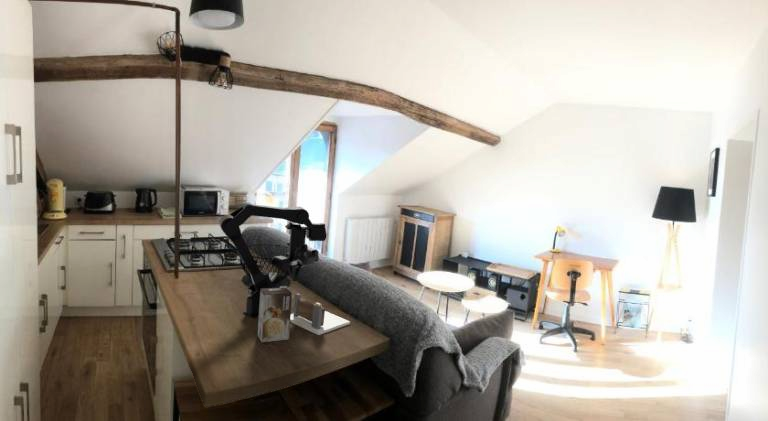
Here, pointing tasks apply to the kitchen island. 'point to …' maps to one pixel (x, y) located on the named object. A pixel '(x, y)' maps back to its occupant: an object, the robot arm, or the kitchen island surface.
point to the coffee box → (274, 314)
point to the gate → (308, 310)
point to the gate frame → (317, 319)
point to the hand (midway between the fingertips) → (294, 281)
